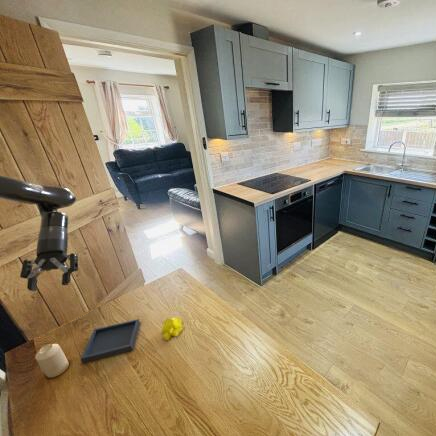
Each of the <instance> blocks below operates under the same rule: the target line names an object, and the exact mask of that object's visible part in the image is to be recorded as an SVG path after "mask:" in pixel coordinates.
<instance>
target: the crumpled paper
mask: <svg viewBox="0 0 436 436" xmlns="http://www.w3.org/2000/svg"><path fill="white" fill-rule="evenodd" d="M183 329H184V327H183V324H182V319H181V318H179V317H176V318H166V319H165V320H164V322H163V325H162V327H161V330H160V331H161V332H162V334H163V335H162V337H163V340H166V341H168V340H169V339H170V338H171V337H172V336H173V337H177V336H178V335H179V334H181V332H182V330H183Z"/></svg>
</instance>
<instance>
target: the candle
mask: <svg viewBox="0 0 436 436" xmlns="http://www.w3.org/2000/svg"><path fill="white" fill-rule="evenodd" d="M34 359H35V361H36V362H37V364H38V365H39V367H40V369H41V370H42V372H43V373H44V374H45V376H46V377H47V378H48V379H49V378H56V377H58V376H60V375H61V374H63V373H64V372H65V371H66V370H67V369H68V368H69V366H70V364H69V361H68V359H67V357H66V355H65V353H64V352H63V350H62V348H61V346H60V344H58V343H51V344H46V345H43V346H41V348H40V349H39V350H37V352H36V354H35V356H34Z"/></svg>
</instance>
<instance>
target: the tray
mask: <svg viewBox="0 0 436 436" xmlns="http://www.w3.org/2000/svg"><path fill="white" fill-rule="evenodd" d="M140 325H141V322H140V319H139V318H137V319H133V320H128V321H124V322H119V323H115V324H111V325H106V326H102V327H98V328H94V329H93V331H92V333H91V335H90V338H89V339H88V342H87V344H86V346H85V348H84V350H83V352H82V355H81V356H80V361H81V363H82V364H86V363H89V362H93V361H98V360H101V359H105V358H109V357H113V356H116V355H120V354H124V353H128V352H132V351H133V350H134V347H135V345H136V344H135V343H136V339H137V336H138V331H139V328H140Z"/></svg>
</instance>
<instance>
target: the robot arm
mask: <svg viewBox="0 0 436 436" xmlns="http://www.w3.org/2000/svg"><path fill="white" fill-rule="evenodd" d="M0 199H2V200H6V201H11V202H16V203H19V204H20V203H22V204H27V205H36V206H37V209H38V212H39V215H40V225H39V231H38V236H37V242H36V252H35V253H36V257H35V259H24V260H23V261H22V265H21V271H20V276H19V277H20V278H21V279H26V280H27V286H26V288H27V290H28V291H31V292H35V291H37V288H38V278H39V277H40V276H41V275H43V274H44V273H45V272H48V271H49V272H50V271H52V270H60V271H61V272H62V275H61V285H62V286H68V285H69V284H70V283H71V276H72V273H74V272H78V270H79V255H78V254H76V253H73V252H72V253H70V254H67V253H68V245H69V216H68V214H67V213H64V212H61V211H58V210H59V209H64V208H69V207H71V206H73V205H74V204H75V203H76V201H77V197H76V195H75V193H74V192H73V191H71V190H70V189H68V188H65V187H62V186H54V185H53V186H52V185H43V184H42V185H40V184H36V183H33V182H30V181H26V180H21V179H16V178H14V177H8V176H5V175H0ZM67 261H69V266H67V264H66V262H67ZM33 267H34V268H33Z"/></svg>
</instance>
